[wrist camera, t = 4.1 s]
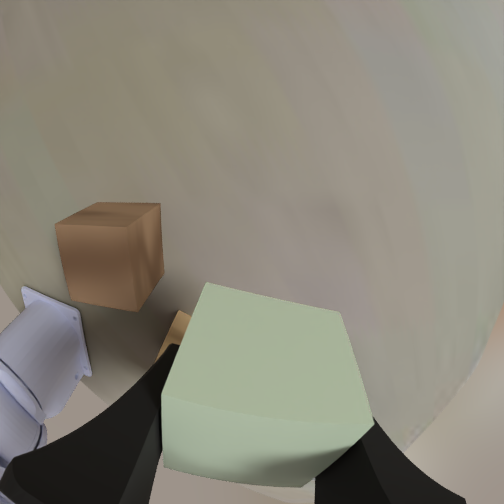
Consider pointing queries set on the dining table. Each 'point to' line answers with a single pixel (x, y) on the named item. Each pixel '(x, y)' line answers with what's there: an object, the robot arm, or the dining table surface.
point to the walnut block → (112, 253)
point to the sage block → (261, 391)
